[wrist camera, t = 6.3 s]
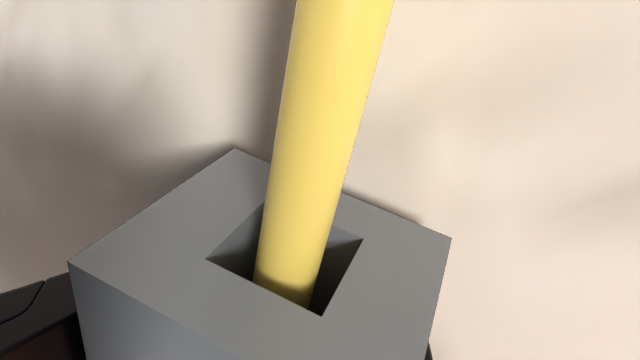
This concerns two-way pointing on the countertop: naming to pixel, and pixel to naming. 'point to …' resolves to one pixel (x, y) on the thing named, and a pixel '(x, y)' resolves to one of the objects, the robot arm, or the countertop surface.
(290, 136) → the cord rig
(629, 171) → the countertop surface
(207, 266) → the sleeve
